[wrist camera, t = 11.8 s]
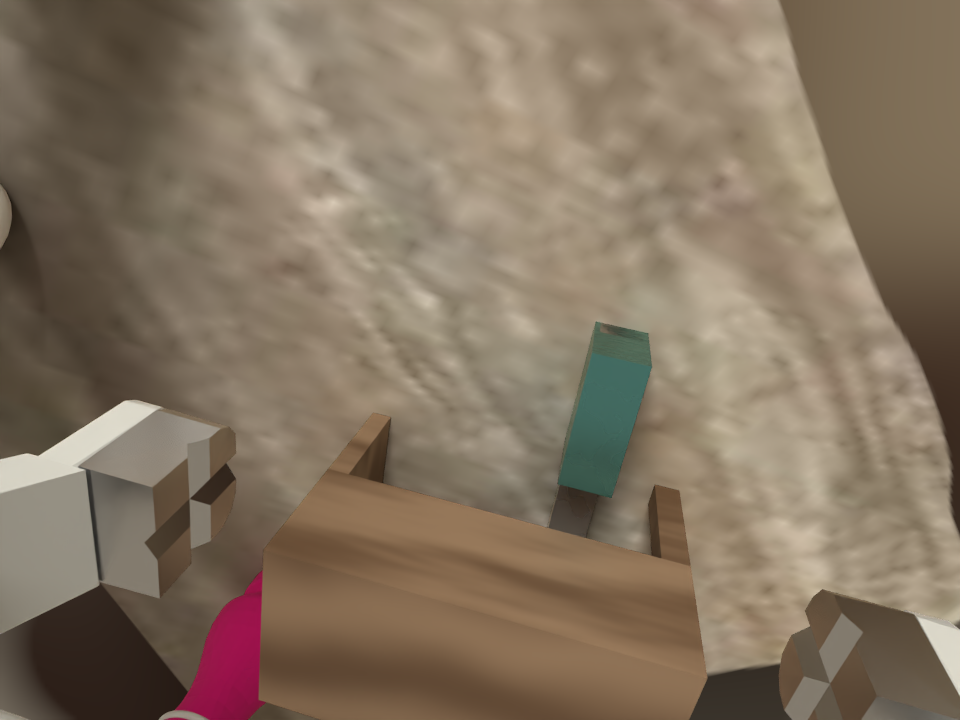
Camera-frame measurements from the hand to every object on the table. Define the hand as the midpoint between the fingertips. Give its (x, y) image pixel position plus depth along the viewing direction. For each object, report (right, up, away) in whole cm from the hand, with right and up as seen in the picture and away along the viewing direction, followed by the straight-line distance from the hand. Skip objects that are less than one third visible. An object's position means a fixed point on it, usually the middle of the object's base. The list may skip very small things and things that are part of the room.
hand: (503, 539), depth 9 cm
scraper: (+6, -5, +31) cm, 32 cm away
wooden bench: (+2, -8, +33) cm, 34 cm away
